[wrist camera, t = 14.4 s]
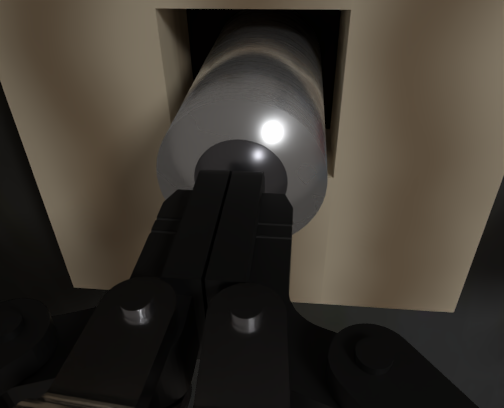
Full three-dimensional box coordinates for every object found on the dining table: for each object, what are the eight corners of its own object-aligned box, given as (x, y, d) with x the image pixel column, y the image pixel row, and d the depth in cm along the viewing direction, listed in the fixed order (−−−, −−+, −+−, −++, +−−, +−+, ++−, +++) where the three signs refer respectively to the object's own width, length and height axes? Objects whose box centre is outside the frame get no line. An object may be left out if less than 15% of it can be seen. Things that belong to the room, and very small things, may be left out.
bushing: (325, 3, 17) (335, 104, 10) (317, 111, 20) (321, 250, 13) (210, 3, 18) (143, 98, 11) (217, 108, 20) (167, 242, 13)
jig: (523, -50, 16) (577, -28, 13) (434, 252, 24) (453, 312, 21) (25, -48, 17) (-38, -27, 14) (103, 234, 26) (73, 287, 23)
